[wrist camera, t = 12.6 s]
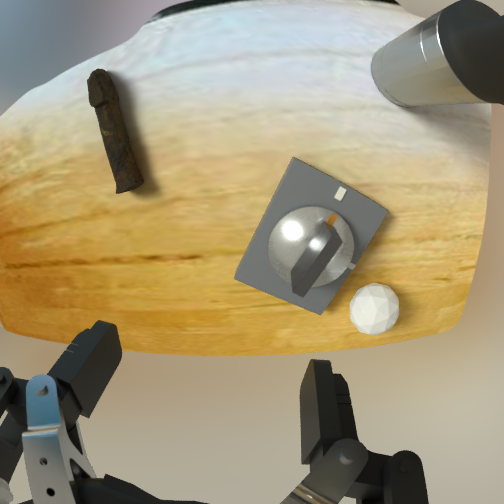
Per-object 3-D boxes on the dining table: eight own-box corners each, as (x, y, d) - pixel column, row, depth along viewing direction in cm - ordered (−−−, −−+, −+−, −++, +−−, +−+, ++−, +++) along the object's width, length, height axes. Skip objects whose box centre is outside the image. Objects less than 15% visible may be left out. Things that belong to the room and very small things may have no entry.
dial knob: (253, 261, 37) (249, 284, 32) (296, 188, 33) (300, 200, 28) (322, 295, 39) (328, 321, 33) (367, 232, 35) (383, 251, 29)
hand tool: (148, 183, 37) (134, 190, 33) (126, 190, 38) (110, 198, 33) (121, 63, 30) (105, 57, 26) (99, 74, 30) (82, 70, 26)
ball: (375, 281, 44) (414, 303, 38) (350, 323, 44) (387, 347, 38) (359, 266, 39) (404, 290, 33) (330, 314, 39) (372, 343, 33)
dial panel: (292, 156, 34) (294, 158, 32) (381, 205, 36) (388, 211, 33) (236, 270, 41) (233, 279, 39) (318, 305, 43) (320, 316, 40)
